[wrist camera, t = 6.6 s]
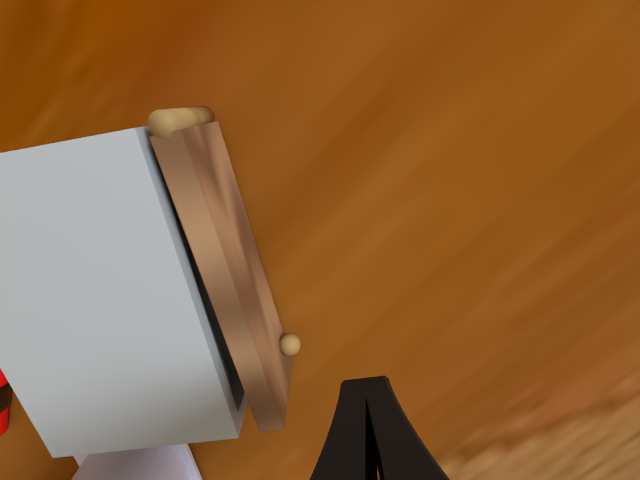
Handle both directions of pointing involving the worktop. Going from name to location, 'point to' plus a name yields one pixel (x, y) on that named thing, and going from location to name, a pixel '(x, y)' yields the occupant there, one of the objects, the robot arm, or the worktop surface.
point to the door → (226, 255)
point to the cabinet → (107, 303)
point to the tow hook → (4, 402)
